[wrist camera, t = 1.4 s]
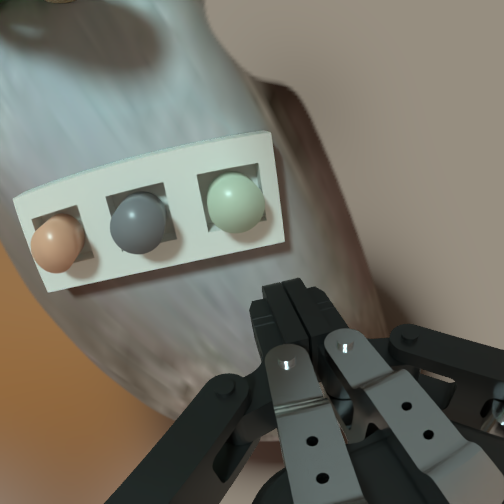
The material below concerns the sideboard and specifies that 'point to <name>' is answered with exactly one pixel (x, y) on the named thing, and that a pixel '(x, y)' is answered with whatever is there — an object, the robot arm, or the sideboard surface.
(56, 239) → the terracotta button
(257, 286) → the sideboard surface
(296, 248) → the sideboard surface
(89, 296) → the sideboard surface
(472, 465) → the robot arm
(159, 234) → the charcoal button
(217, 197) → the sage button
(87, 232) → the button board
